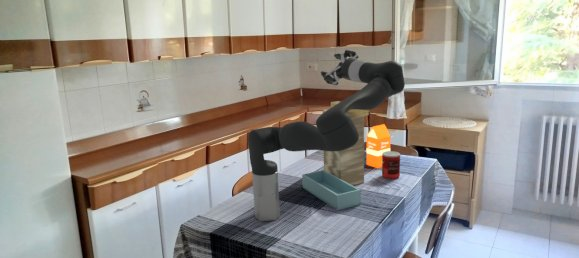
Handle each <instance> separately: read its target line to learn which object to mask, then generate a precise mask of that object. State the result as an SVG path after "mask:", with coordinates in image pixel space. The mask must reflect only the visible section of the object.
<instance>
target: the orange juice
mask: <svg viewBox="0 0 579 258" xmlns="http://www.w3.org/2000/svg"><path fill="white" fill-rule="evenodd" d="M365 149H366V151H365V152H366V166H369V167H373V168H376V169H379V168H382V153H383V152H386V151H391V135H390V132H389V130H388V128H387V126H386V125H385V123H383V124H379V125H378V124H377V125H375V126H372V127H371V128H370V130H369V131H368V133H367V135H366V148H365Z"/></svg>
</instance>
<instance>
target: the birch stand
mask: <svg viewBox="0 0 579 258" xmlns="http://www.w3.org/2000/svg"><path fill="white" fill-rule="evenodd" d="M328 109H329V108H325V109H322V114H323V113H324V112H325V111H327V110H328ZM349 115H350V117H351V119H352V121H353V123H354V125H355V127H356V129H357V131H358V134H359V139H358V141H357V143H356V144H355V145H354V146H352V147H350V148H348V149H346V150H342V151H323V170H324V171H326V172H328V173H330V174H332V175H334V176H335V177H337V178H339V179H341V180H343V181H345V182H347V183H349V184H351V185H352V186H355V185H359V184H364V183H365V116H363V117H359V116H355V115H352V114H349Z"/></svg>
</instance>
